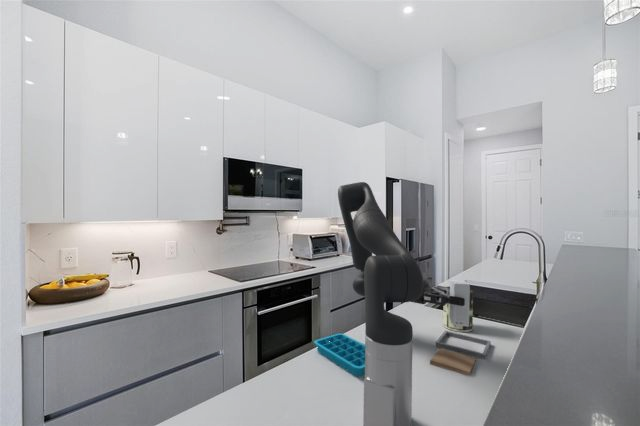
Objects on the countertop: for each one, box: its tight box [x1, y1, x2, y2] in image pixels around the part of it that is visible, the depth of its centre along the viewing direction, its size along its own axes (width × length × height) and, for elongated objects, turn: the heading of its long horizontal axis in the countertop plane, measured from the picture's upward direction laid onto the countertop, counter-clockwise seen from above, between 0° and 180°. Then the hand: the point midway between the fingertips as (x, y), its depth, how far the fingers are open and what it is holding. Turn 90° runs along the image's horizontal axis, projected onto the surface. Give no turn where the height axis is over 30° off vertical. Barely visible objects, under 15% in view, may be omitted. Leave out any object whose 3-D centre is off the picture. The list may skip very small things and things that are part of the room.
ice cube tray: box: [313, 333, 365, 377], centre depth 85 cm, size 12×20×3 cm, turn 37°
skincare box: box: [449, 279, 471, 327], centre depth 86 cm, size 6×4×12 cm
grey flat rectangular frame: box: [435, 330, 492, 360], centre depth 95 cm, size 12×14×1 cm
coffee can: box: [442, 286, 474, 333], centre depth 110 cm, size 10×10×14 cm
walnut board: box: [429, 347, 477, 377], centre depth 83 cm, size 10×10×1 cm
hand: (467, 299), depth 85 cm, fingers closed on skincare box, 7 cm apart
